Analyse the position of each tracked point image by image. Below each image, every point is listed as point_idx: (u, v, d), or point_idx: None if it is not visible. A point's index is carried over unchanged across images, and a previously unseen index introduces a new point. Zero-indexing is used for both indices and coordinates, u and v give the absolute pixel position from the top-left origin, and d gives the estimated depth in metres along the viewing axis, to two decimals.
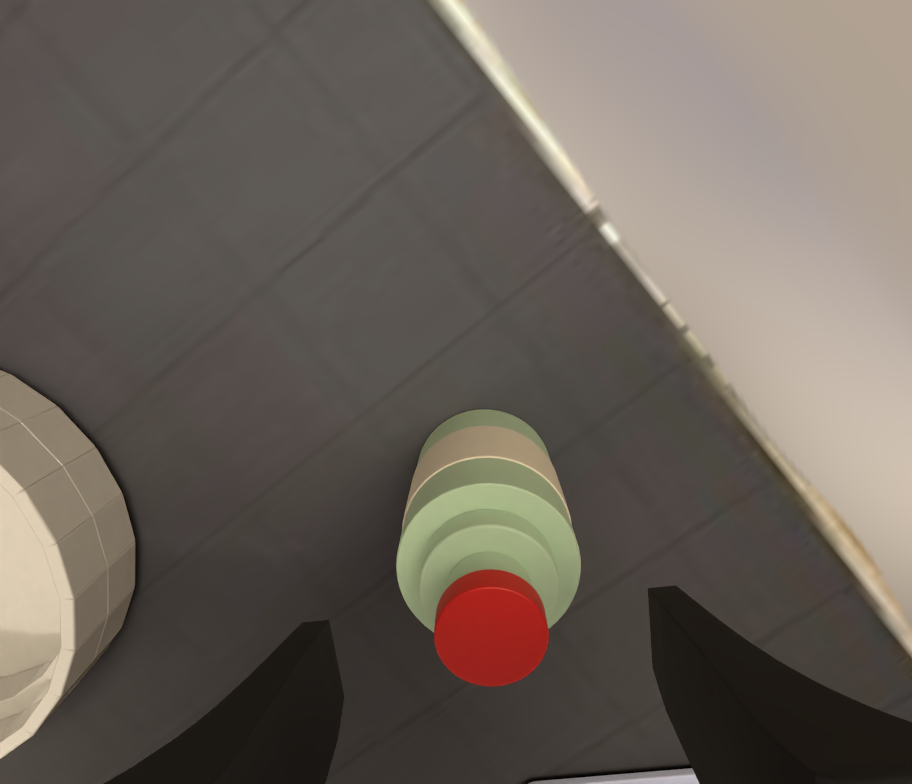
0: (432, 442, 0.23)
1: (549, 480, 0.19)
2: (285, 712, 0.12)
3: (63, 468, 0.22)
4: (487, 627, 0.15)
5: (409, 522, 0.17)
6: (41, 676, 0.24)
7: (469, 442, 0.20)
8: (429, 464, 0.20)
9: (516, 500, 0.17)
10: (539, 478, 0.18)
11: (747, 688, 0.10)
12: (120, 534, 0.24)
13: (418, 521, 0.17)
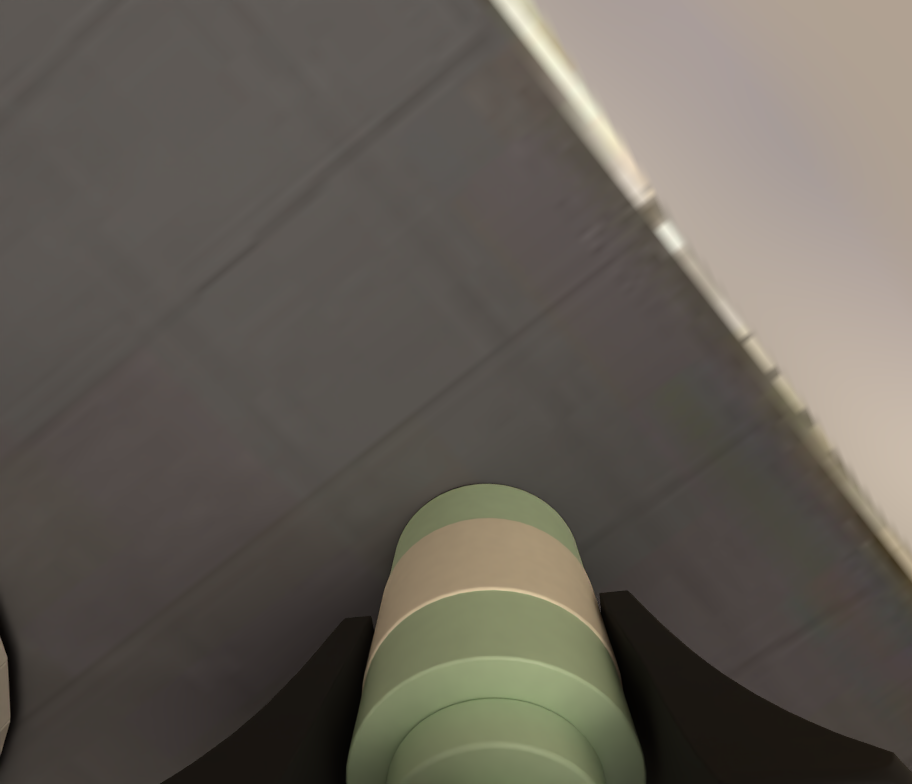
0: (413, 536, 0.16)
1: (589, 623, 0.12)
2: (337, 707, 0.12)
3: None
4: None
5: (366, 714, 0.11)
6: None
7: (465, 553, 0.13)
8: (405, 587, 0.13)
9: (542, 685, 0.10)
10: (575, 626, 0.12)
11: (677, 694, 0.10)
12: None
13: (380, 715, 0.10)
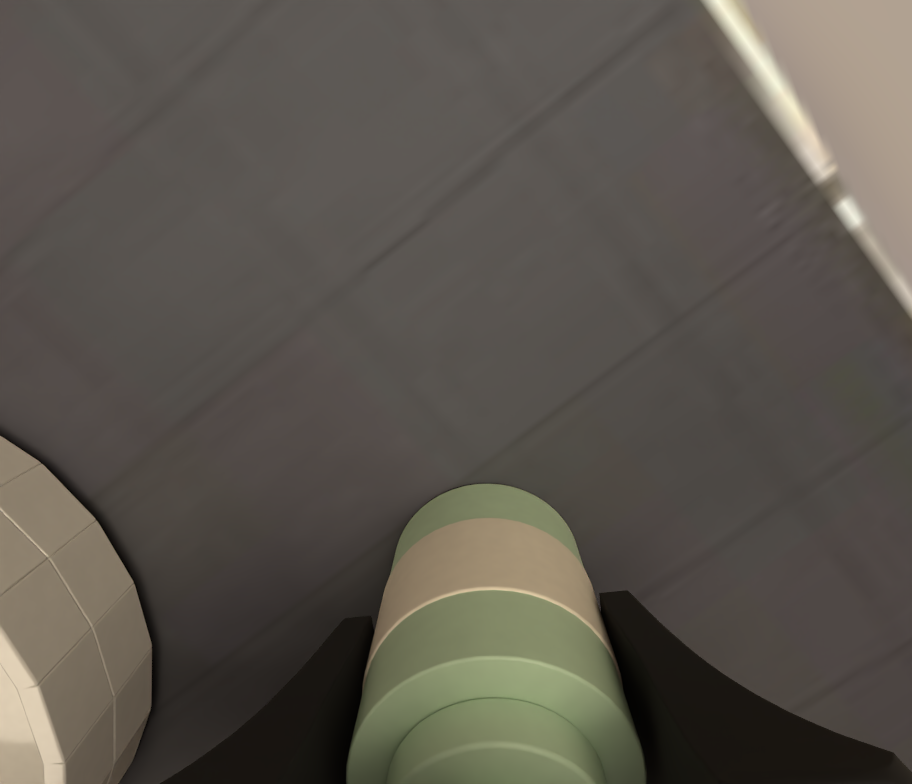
0: (413, 536, 0.16)
1: (590, 623, 0.12)
2: (337, 707, 0.12)
3: (49, 560, 0.15)
4: None
5: (366, 714, 0.11)
6: None
7: (465, 553, 0.13)
8: (405, 587, 0.13)
9: (543, 684, 0.10)
10: (576, 626, 0.12)
11: (677, 694, 0.10)
12: (131, 643, 0.17)
13: (380, 715, 0.10)
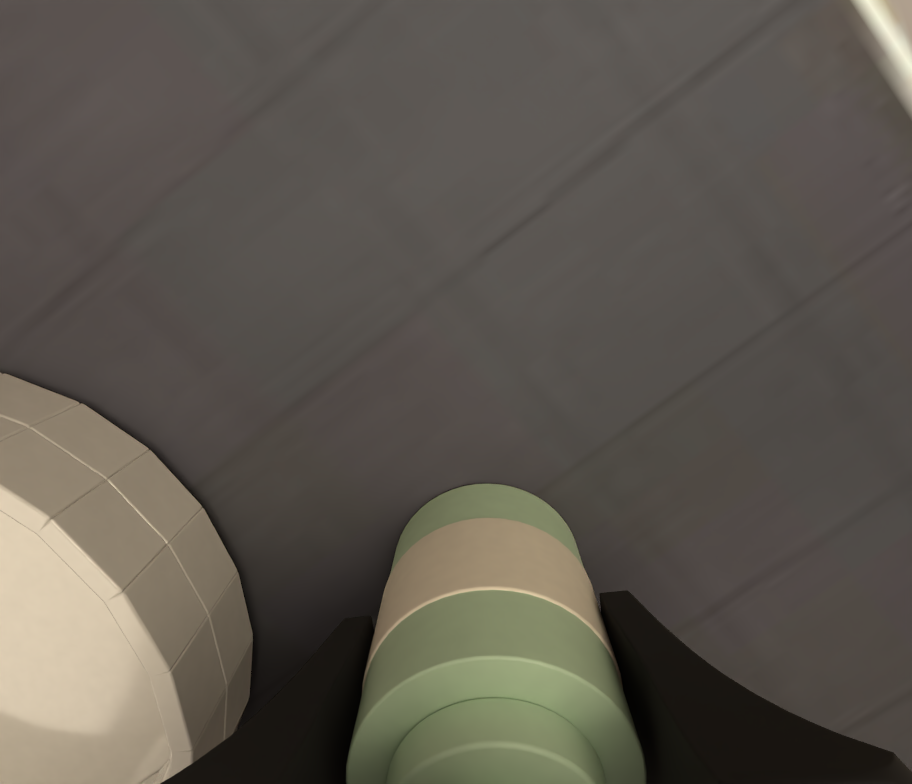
0: (413, 536, 0.16)
1: (589, 623, 0.12)
2: (337, 707, 0.12)
3: (168, 546, 0.15)
4: None
5: (366, 713, 0.11)
6: None
7: (465, 553, 0.13)
8: (405, 587, 0.13)
9: (542, 684, 0.10)
10: (575, 626, 0.12)
11: (677, 694, 0.10)
12: (238, 632, 0.17)
13: (380, 715, 0.10)
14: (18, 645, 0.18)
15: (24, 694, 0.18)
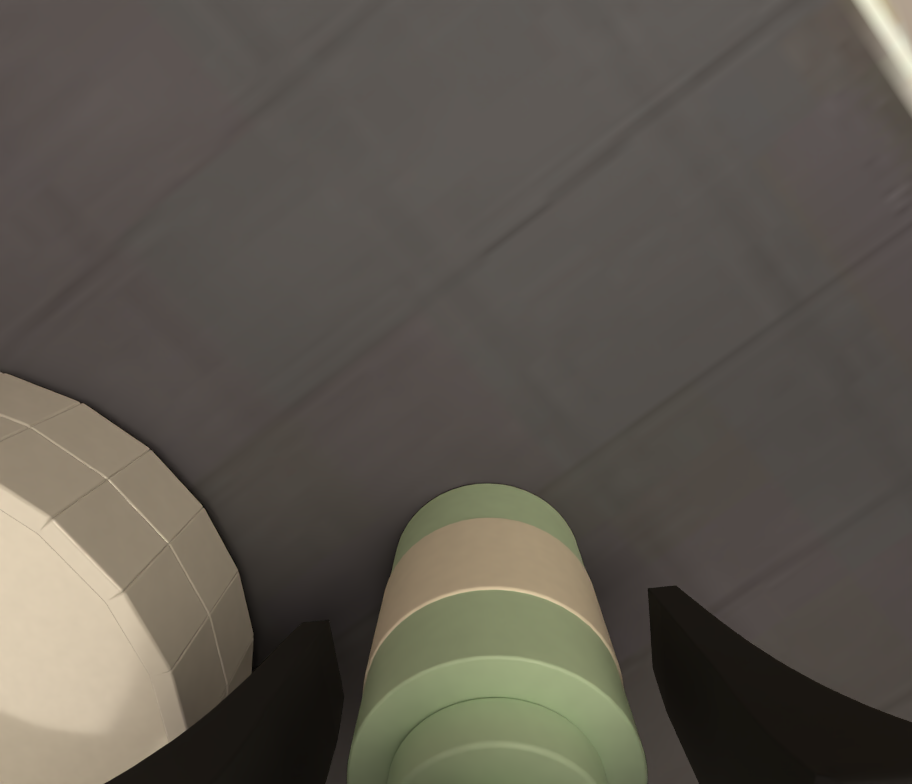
0: (413, 536, 0.16)
1: (590, 623, 0.12)
2: (285, 712, 0.12)
3: (169, 546, 0.15)
4: None
5: (367, 713, 0.11)
6: None
7: (466, 553, 0.13)
8: (406, 587, 0.13)
9: (544, 683, 0.10)
10: (576, 625, 0.12)
11: (747, 688, 0.10)
12: (238, 632, 0.17)
13: (382, 715, 0.10)
14: (19, 645, 0.18)
15: (24, 694, 0.18)
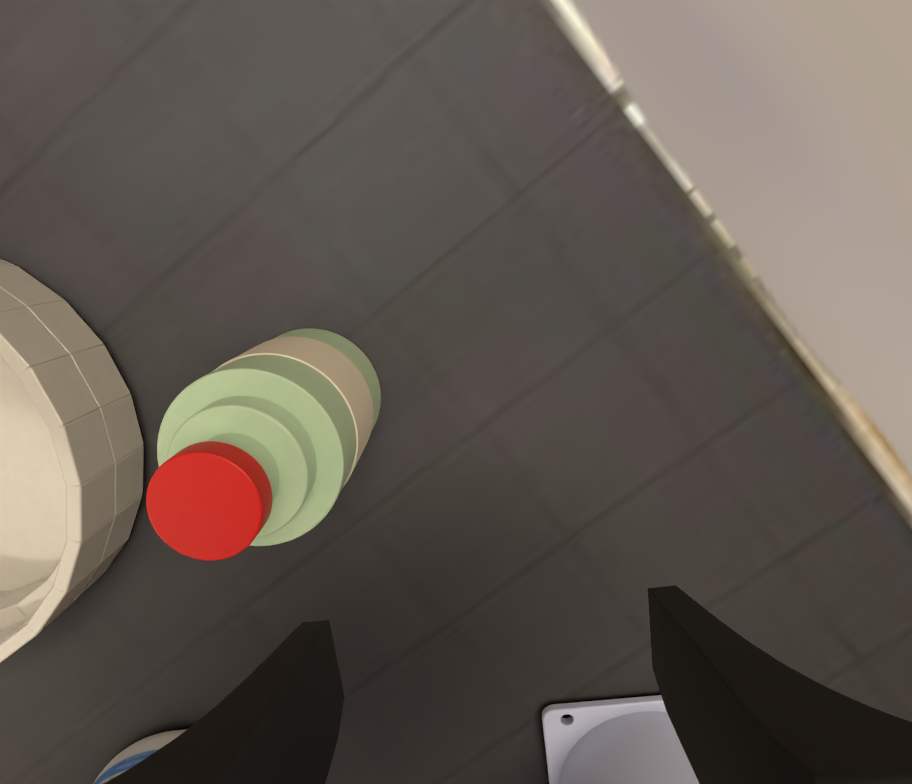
0: None
1: (330, 379, 0.19)
2: (285, 712, 0.12)
3: (70, 356, 0.21)
4: (198, 496, 0.14)
5: (167, 411, 0.17)
6: (46, 581, 0.23)
7: (262, 346, 0.20)
8: None
9: (271, 387, 0.17)
10: (314, 374, 0.18)
11: (747, 688, 0.10)
12: (128, 434, 0.23)
13: (174, 410, 0.17)
14: None
15: None
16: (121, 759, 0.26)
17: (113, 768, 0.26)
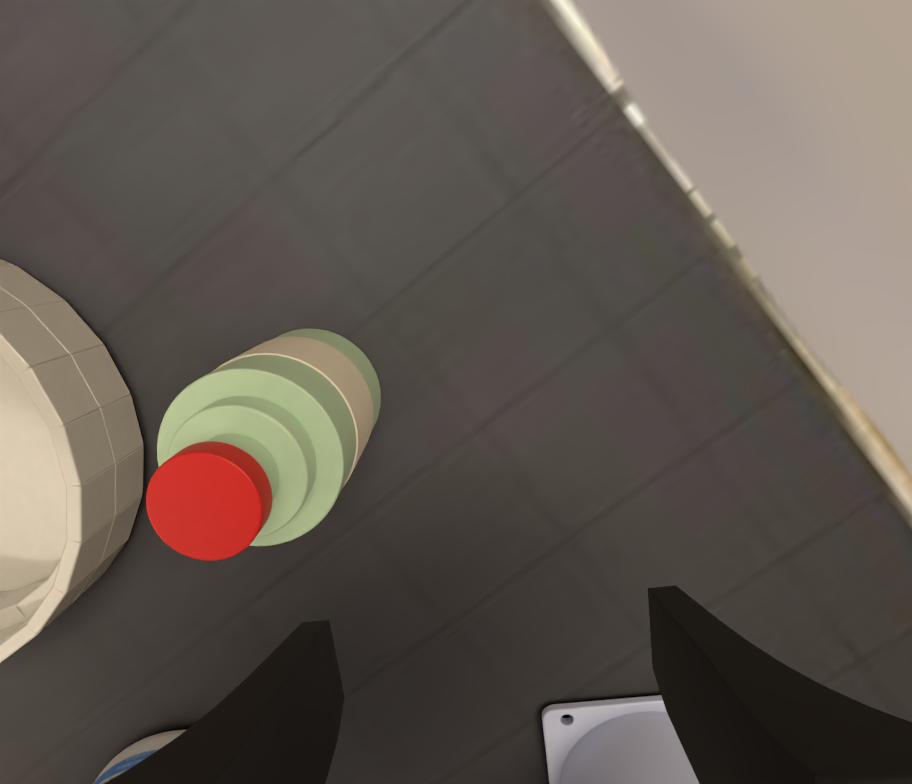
0: None
1: (330, 379, 0.19)
2: (285, 712, 0.12)
3: (70, 356, 0.21)
4: (198, 496, 0.14)
5: (167, 411, 0.17)
6: (46, 581, 0.23)
7: (262, 346, 0.20)
8: None
9: (271, 387, 0.17)
10: (314, 374, 0.18)
11: (747, 688, 0.10)
12: (128, 434, 0.23)
13: (175, 410, 0.17)
14: None
15: None
16: (121, 759, 0.26)
17: (113, 768, 0.26)
